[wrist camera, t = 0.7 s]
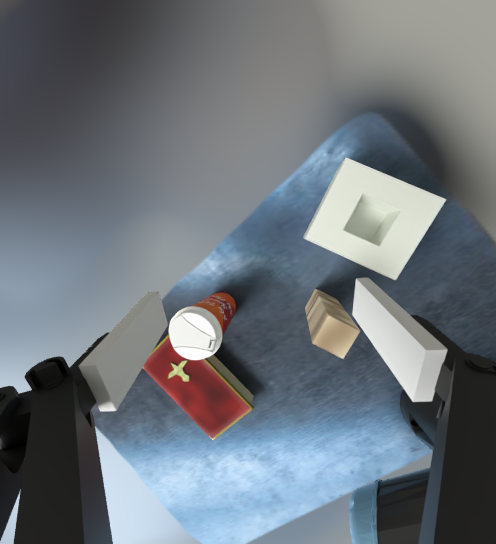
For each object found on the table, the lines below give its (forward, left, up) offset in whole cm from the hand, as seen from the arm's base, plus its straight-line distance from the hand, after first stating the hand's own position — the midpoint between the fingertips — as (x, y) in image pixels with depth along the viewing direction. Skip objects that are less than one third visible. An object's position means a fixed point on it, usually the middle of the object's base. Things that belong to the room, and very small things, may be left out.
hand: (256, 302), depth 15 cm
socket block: (-9, -11, -26) cm, 30 cm away
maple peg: (-10, +4, -26) cm, 28 cm away
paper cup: (+6, +13, -26) cm, 30 cm away
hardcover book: (+4, +28, -27) cm, 39 cm away
